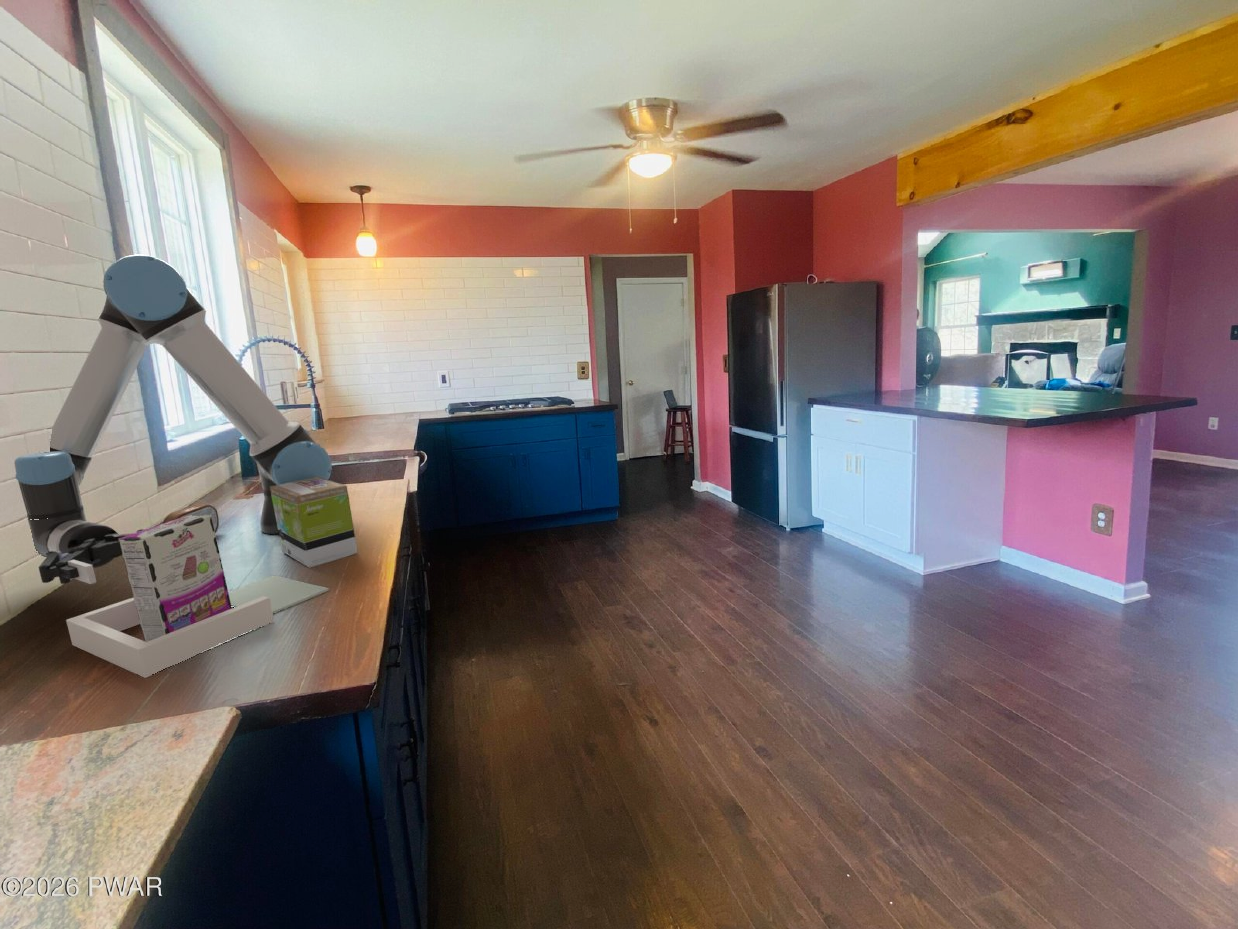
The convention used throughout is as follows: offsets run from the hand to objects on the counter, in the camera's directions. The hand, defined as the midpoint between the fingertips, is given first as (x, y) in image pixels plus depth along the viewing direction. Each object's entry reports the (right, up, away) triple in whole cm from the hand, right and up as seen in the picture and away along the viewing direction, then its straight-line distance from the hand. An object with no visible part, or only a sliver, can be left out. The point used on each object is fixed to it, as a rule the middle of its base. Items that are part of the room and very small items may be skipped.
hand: (144, 559), depth 94 cm
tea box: (+13, -4, +29) cm, 32 cm away
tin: (-21, -3, +41) cm, 46 cm away
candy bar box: (+9, -10, -3) cm, 14 cm away
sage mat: (+15, -7, +8) cm, 19 cm away
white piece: (+8, -10, -4) cm, 14 cm away
